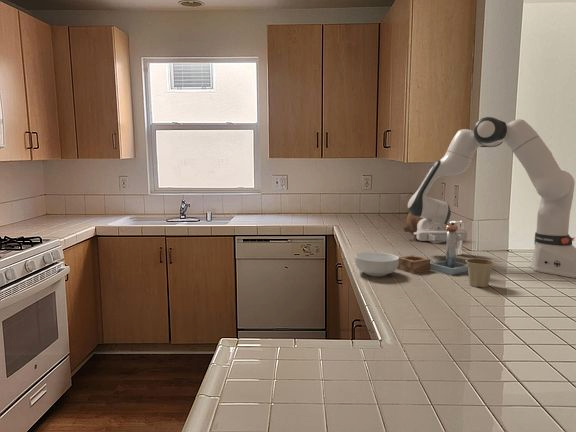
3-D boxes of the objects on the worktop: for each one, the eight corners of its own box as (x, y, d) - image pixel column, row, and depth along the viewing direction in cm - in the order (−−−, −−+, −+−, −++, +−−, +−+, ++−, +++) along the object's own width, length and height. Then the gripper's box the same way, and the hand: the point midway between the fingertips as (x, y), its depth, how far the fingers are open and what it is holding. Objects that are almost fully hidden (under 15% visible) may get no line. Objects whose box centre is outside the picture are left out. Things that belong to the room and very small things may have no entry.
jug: (443, 243, 240) (432, 242, 269) (451, 206, 240) (440, 209, 269) (403, 235, 242) (397, 234, 272) (411, 197, 242) (404, 201, 272)
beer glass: (452, 256, 212) (454, 223, 210) (443, 252, 218) (445, 220, 216) (466, 255, 214) (467, 222, 211) (456, 252, 220) (458, 220, 218)
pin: (459, 269, 186) (460, 226, 183) (451, 271, 183) (452, 227, 181) (449, 267, 190) (450, 224, 187) (441, 268, 187) (442, 225, 185)
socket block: (429, 270, 187) (430, 259, 186) (413, 273, 182) (414, 262, 182) (412, 265, 195) (413, 255, 194) (396, 268, 190) (397, 257, 189)
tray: (471, 271, 185) (471, 265, 184) (452, 275, 179) (452, 269, 179) (448, 265, 194) (448, 259, 194) (429, 269, 188) (429, 263, 188)
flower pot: (469, 280, 173) (470, 257, 172) (496, 284, 167) (498, 260, 166) (460, 285, 166) (461, 261, 164) (488, 290, 160) (489, 265, 159)
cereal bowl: (399, 281, 172) (399, 262, 171) (353, 278, 176) (353, 260, 175) (398, 269, 189) (398, 252, 188) (356, 267, 192) (356, 250, 191)
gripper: (412, 225, 201) (422, 230, 188) (459, 225, 202) (473, 230, 188) (411, 239, 202) (421, 246, 188) (458, 239, 203) (472, 246, 189)
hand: (447, 238), depth 188 cm, fingers open, 8 cm apart
